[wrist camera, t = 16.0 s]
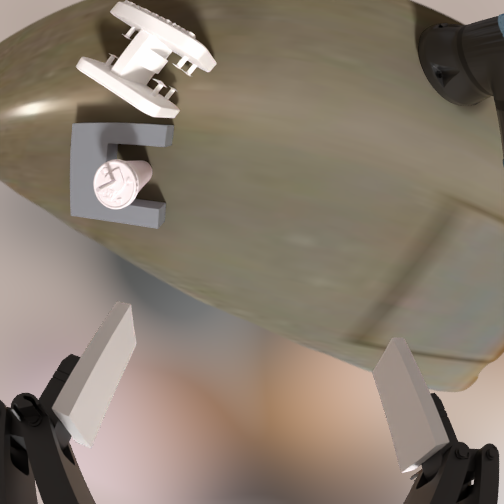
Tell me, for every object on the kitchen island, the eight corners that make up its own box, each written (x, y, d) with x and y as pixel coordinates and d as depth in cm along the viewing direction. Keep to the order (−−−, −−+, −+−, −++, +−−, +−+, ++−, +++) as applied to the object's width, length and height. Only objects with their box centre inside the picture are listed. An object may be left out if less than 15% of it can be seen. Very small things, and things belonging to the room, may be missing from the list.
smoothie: (166, 160, 40) (128, 178, 27) (152, 198, 42) (112, 230, 30) (131, 145, 39) (82, 157, 26) (118, 182, 41) (69, 208, 28)
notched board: (174, 125, 38) (167, 125, 34) (164, 220, 44) (157, 228, 41) (84, 122, 37) (72, 123, 34) (81, 209, 43) (71, 215, 40)
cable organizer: (107, 73, 34) (65, 63, 23) (148, 20, 30) (116, -6, 19) (177, 119, 37) (148, 119, 27) (222, 64, 34) (210, 42, 23)
